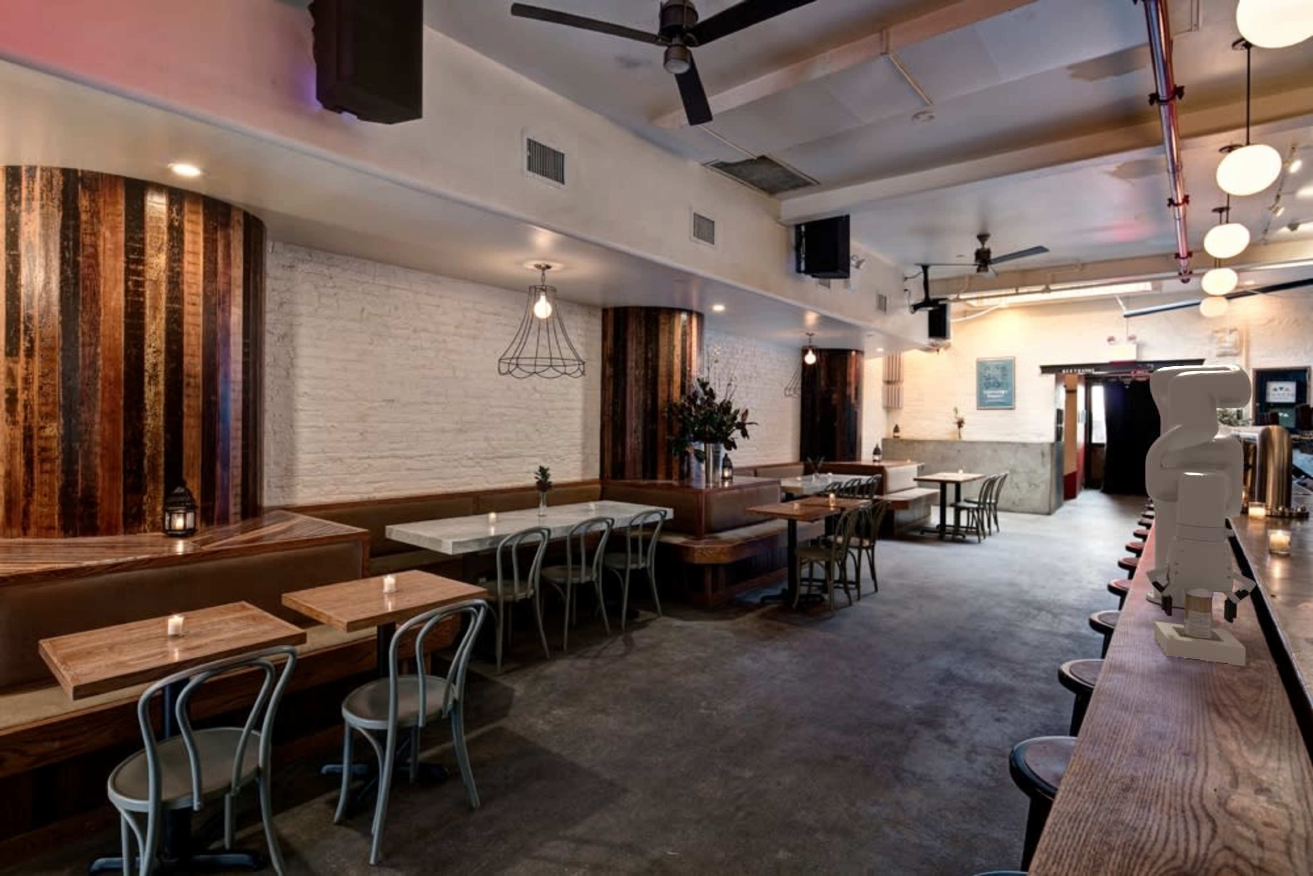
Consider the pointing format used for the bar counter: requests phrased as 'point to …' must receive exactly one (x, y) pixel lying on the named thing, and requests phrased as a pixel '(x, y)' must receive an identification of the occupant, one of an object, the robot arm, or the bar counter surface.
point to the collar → (1200, 644)
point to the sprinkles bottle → (1198, 614)
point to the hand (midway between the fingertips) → (1197, 617)
